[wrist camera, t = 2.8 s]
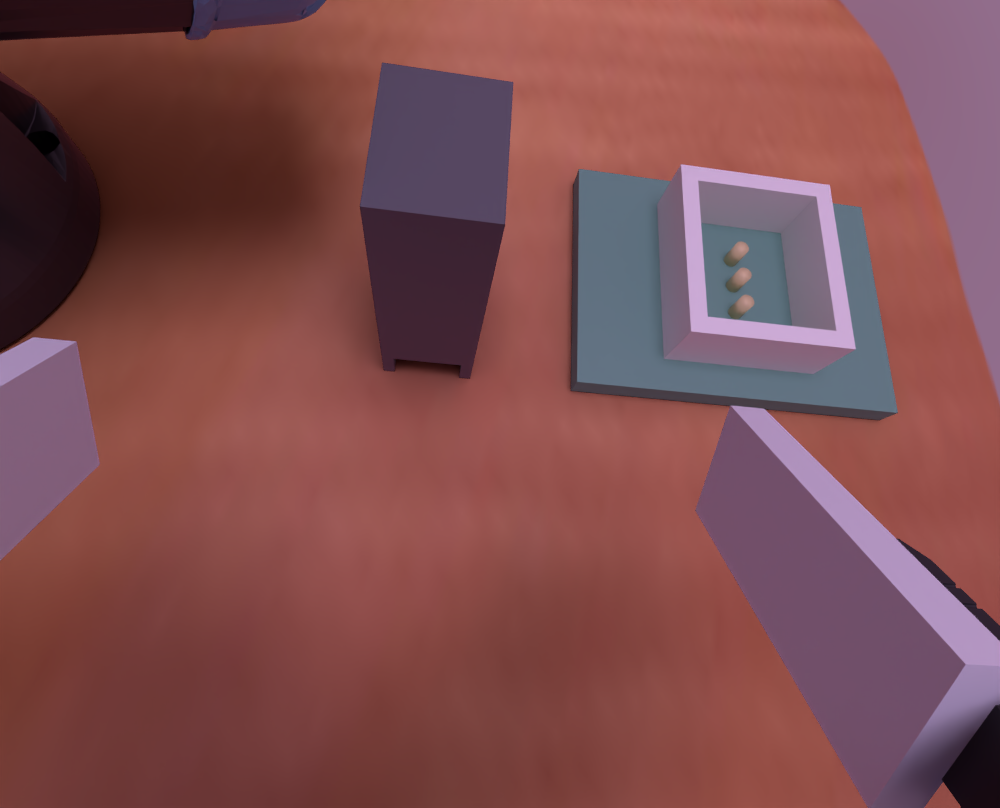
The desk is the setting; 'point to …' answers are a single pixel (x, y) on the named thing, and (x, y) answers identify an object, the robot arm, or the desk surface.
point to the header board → (725, 294)
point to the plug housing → (435, 210)
